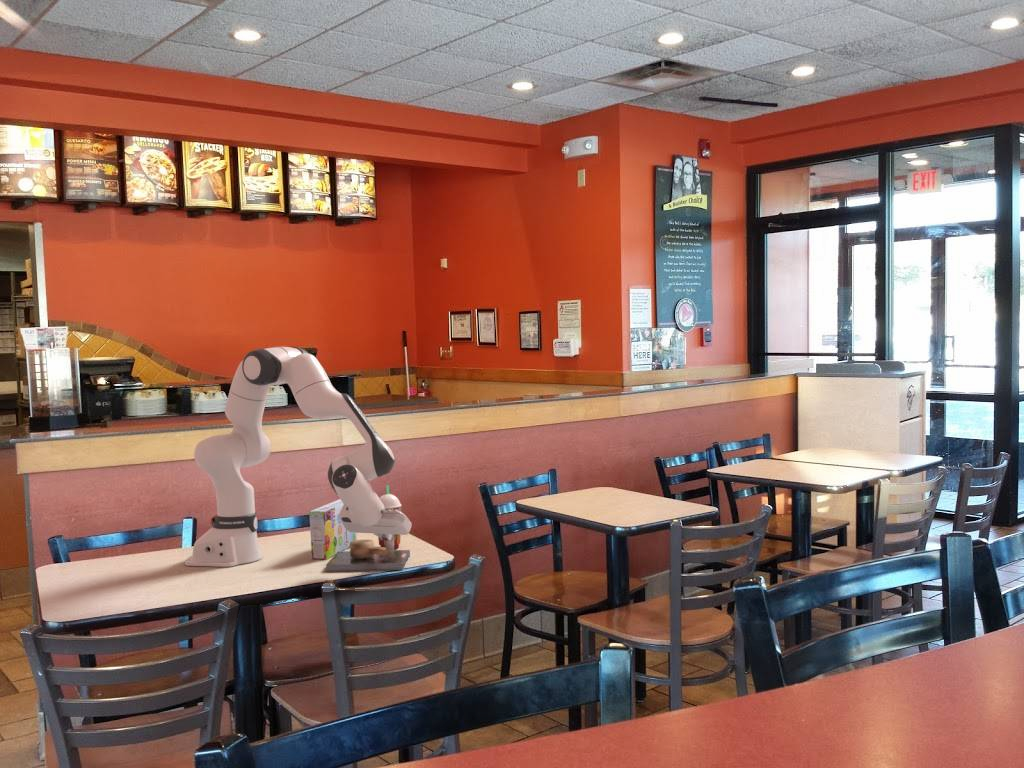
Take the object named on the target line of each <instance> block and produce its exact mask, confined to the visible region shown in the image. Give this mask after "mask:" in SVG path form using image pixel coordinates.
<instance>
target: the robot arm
mask: <svg viewBox="0 0 1024 768" xmlns="http://www.w3.org/2000/svg"><path fill="white" fill-rule="evenodd" d="M242 359H243V360H242V361H241V362H240V363H239V364H238V367H237V369H236V371H235V374H234V376H233V378H232V382H231V384H230V389H229V393H228V395H227V399H226V404H225V408H224V415H225V416H226V418H227V420H229V422H231V423H232V430H231V432H230V433H224V434H217V435H211V436H209V437H206V438H204V439H201V440H200V441H199V442H198V443H197V444H196V446H195V448H194V452H193V453H194V454H193V455H194V456H193V457H194V460H195V463H196V465H197V466H198V468H199V469H200V470H202V471H203V472H204V473H206V474H207V475H208V477H209V478H210V480H211V482H212V484H213V487H214V490H215V497H216V510H217V511H216V512H217V513H216V514H214V516H212V517H211V518H210V520H209V524H211V528H209V529H208V530H207V531H206V532H205V533H204V534H202V535H201V536H200V537H199V538H198V539H197V540H195V542H194V544H193V547H192V548H193V549H192V555H190V556H188V557H187V558H186V559H185V561H184V564H185V566H188V567H189V566H190V567H191V566H193V567H221V568H226V567H227V568H228V567H229V568H230V567H234V566H237V565H238V566H239V565H243V564H249V563H254V562H256V561H259V560H261V559H262V558H263V555H262V551H261V549H260V544H259V540H258V539H259V538H258V534H257V531H258V518H257V517H258V516H257V511H256V506H255V504H256V503H255V488H254V486H253V485H252V484H251V483H249V482H248V481H246V480H244V478H243V476H242V474H241V469H243V468H249V467H253V466H256V465H259V464H260V463H263V462H265V461H267V459H268V458H270V454H271V452H272V451H271V450H272V445H271V440H270V439H269V437H268V436H267V435H266V434H265V431H264V429H263V416H264V411H265V407H266V403H267V400H268V399H267V398H268V396H269V393H270V392H269V391H270V387H271V386H280V385H285V384H287V385H288V387H289V388H290V390H291V393H292V395H293V397H294V399H295V402H296V403H297V406H298V407H299V409H300V411H301V413H303V414H304V415H305V416H306V417H309V418H312V419H315V420H316V419H317V420H328V419H329V420H330V419H338V418H339V419H347V420H348V421H350V422H351V423H352V425H354V427H355V429H356V430H357V431H358V433H359V434H360V435H361V437H362V438H363V440H364V442H365V444H364V445H362V446H361V447H358V448H357V449H355V450H353V451H349V452H348V453H345V454H344V455H342V456H340V457H337V458H335V459H334V460H332V461H331V462H330V464H329V467H328V469H327V479H328V482H329V485H330V486H331V488H332V490H333V491H334V492H335V494H336V495H337V496H338V497H339V499H341V501H342V502H343V504H344V505H343V507H342V509H341V511H340V514H339V517H338V518H339V520H340V521H341V522H342V524H343V526H344V527H345V528H346V530H347V531H349V532H355V533H356V534H373V535H374V536H376V537H380V539H381V540H389V541H390V540H391V538H392V535H391V534H397V535H402V536H403V535H404V536H406V535H407V536H408V535H409V533H410V531H411V528H412V526H413V525H412V522H411V521H410V519H409V518H408V516H407V515H406V514H405V513H403V512H402V510H401V511H398V510H385V508H384V505H383V503H382V502H381V500H380V499H379V498H380V497H379V496H378V494H377V493H376V492H375V491H374V490H373V487H372V485H371V483H370V481H373V480H374V479H377V478H380V477H383V476H385V475H388V474H390V473H391V471H392V469H393V468H394V465H395V462H396V459H395V456H394V453H393V451H392V449H391V448H390V446H388V444H387V443H386V442H385V441H384V440H383V439H382V438H381V437H380V435H379V434H378V432H377V431H376V429H375V428H374V427H373V425H372V424H371V422H370V421H369V420H368V418H367V417H366V415H365V413H363V411H362V410H361V408H360V407H359V406H358V405H357V403H356V402H355V401H354V399H353V398H352V397H351V396H350V395H349V394H347V393H341V392H339V391H338V390H337V389H336V388H335V387H334V386H333V384H332V383H331V380H330V378H329V377H328V374H327V372H326V370H325V368H324V367H323V366H322V364H321V363H320V362H319V360H318V359H317V358H316V356H315V355H313V354H311V353H309V352H308V351H307V350H306V349H304V348H301V347H297V346H290V347H289V346H274V347H267V348H257V349H254V350H251V351H249V352H247V353H246V354H245V356H244V357H243V358H242Z"/></svg>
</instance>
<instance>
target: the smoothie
mask: <svg viewBox="0 0 1024 768" xmlns="http://www.w3.org/2000/svg"><path fill="white" fill-rule="evenodd" d="M389 486H390V485H386V494H383V495H382V496H381V495H380V497H379V499H380V500H381V502H382V503H383V505H384V508H385V510H398V511H401V512H402V503H401V501H400V500H399V498H398V497H397V496H396V495H394V494H392V493H390V488H389ZM377 537H378V536H377ZM377 539H378V545H379V547H386V540H381V539H380V537H378V538H377ZM400 544H401V535H397V534H394V550H396V549H397V550H398V548H399V546H400Z"/></svg>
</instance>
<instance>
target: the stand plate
mask: <svg viewBox="0 0 1024 768" xmlns="http://www.w3.org/2000/svg"><path fill="white" fill-rule="evenodd" d="M410 557H411V552H410V549H397V550H396V549H394V557H393V558H387V557H386V555H379V554H374V556H372V557H369V558H361V559H358V558H351V557H350V550H348V551H345V550H343V551H342V552H337V553H336V554H335V555H334V556H332V557H331V559H330V560H329V561H328V562H327V563H326V564H325V567H326V572H329V573H330V572H362V571H364V572H367V571H368V572H370V571H371V572H372V571H403V570H404V568H405V566H406V565H405V564H407V563H406V562H408V561H409V559H410ZM408 558H409V559H408Z"/></svg>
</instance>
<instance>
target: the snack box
mask: <svg viewBox="0 0 1024 768" xmlns="http://www.w3.org/2000/svg"><path fill="white" fill-rule="evenodd" d="M343 505H344V504H343V502H342V501H341V499H340V498H339V499H336V500H335V501H332V502H328V503H327V504H324V505H322V506H319V507H316V508H314V509H313V510H309V512H308V514H309V528H310V531H309V532H310V545H311V546H310V549H311V559H312V560H328V559H330V558H333V557H334V555H335V554H336V553H337V552H343V551H345V550H348V549H350V542H352V541H356V540H357V533H355V532H349V531H347V530H346V528H345V527H344V526H343V524H342V522H341V521H340V520H339V518H338V517H339V514H340V511H341V509H342V507H343Z"/></svg>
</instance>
